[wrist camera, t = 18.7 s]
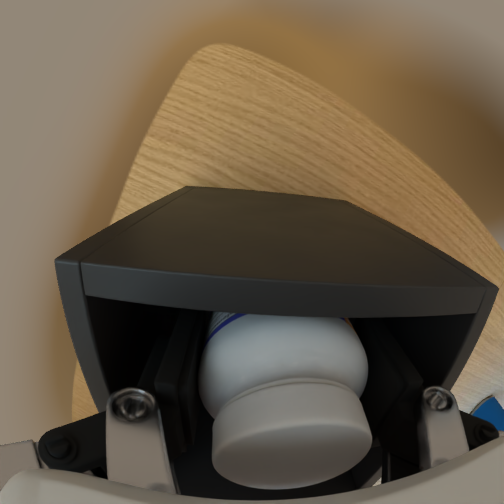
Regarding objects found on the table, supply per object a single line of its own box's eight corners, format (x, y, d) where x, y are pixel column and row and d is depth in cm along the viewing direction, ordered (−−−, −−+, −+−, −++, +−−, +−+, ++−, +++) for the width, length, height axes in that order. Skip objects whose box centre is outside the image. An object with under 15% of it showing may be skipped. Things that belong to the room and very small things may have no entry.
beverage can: (462, 420, 32) (488, 464, 20) (484, 394, 30) (515, 438, 18) (476, 418, 33) (501, 457, 21) (497, 394, 31) (525, 432, 19)
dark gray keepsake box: (185, 186, 19) (52, 258, 5) (346, 200, 20) (500, 288, 6) (185, 336, 23) (142, 492, 9) (317, 343, 24) (365, 492, 10)
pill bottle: (341, 278, 14) (436, 424, 5) (276, 346, 16) (298, 504, 6) (260, 215, 13) (293, 355, 4) (196, 297, 14) (148, 466, 5)
